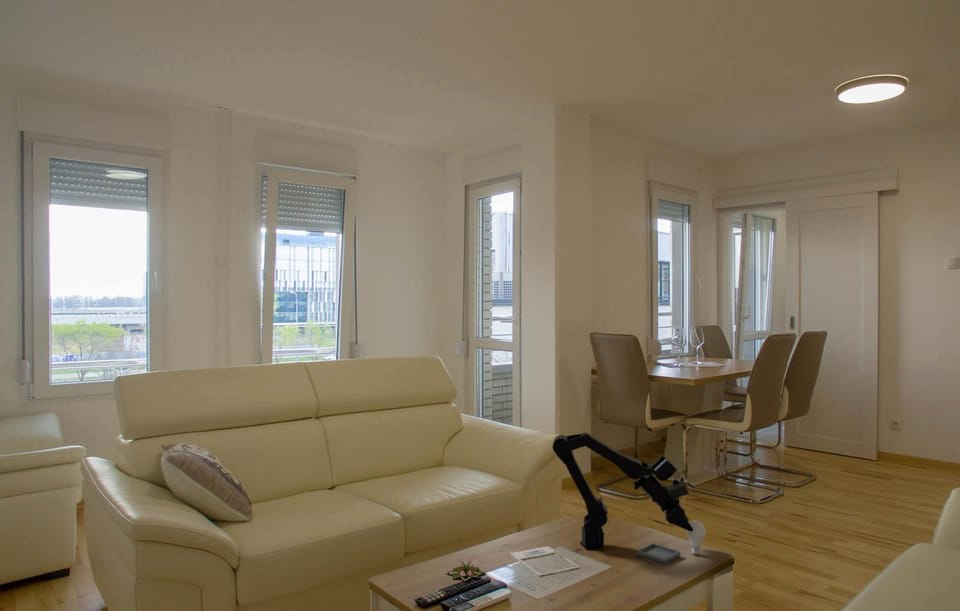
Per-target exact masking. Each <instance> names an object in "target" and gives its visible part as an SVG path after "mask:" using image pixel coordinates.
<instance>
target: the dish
mask: <svg viewBox="0 0 960 611" xmlns="http://www.w3.org/2000/svg"><path fill="white" fill-rule="evenodd" d="M636 557H637V558H638V557H639V558H641V559H643V558H644V560H646V559H647V561H649V560H650V562H652V561H653V563H655V562H656V563H655V564H658V563H659V565H661V564H662V566H664V567H665V566H667V565H669V564H671V563H672V562H674V561H676V560H677V559H679V558H681V551H680V550H678V549H677V550H676V549H674V548H670V547H667V546H664V545H661V544H657V543H655V542H651V543H650V544H648V545H645V546H643V547H641V548H639V549H637V550H636ZM666 564H667V565H666Z"/></svg>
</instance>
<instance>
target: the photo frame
mask: <svg viewBox="0 0 960 611" xmlns="http://www.w3.org/2000/svg"><path fill="white" fill-rule="evenodd" d="M554 550H555V549H553V548H552V547H550V546H543V547H542V546H541V547H537V548H531V549H525V550H520V551H515V552H514V551H513V552H509V555H510V556H511V557H512V556H513V557H512V558H514V559H515V560H516V561H518V562H519V563H520V562H521V563H520V564H522V565H523V564H524V565H526V566H527V567H528V568H530V569H531V570H533V571H534V572H535V573H536V574H538V575H542V574H541V573H539V572H538V571H536V569H534V568H533V567H532V566H530V565H528V563H526V562H524V560H523V559H525V560H529V559H528V558H530V559H533V558H532V557H536V556H540V555H544V554H547V553H549V552H553V551H554ZM536 558H537V557H536ZM565 559H566V560H567V561H569V562H570V563H572V564H573V565H575V567H574V566H573V565H572V566H570V567H566V568H561V569H556V570H557V571H562V570H568V569H574V568H579V569H580V566H579V565H577V564H576V563H574V562H573V561H572V560H570V559H568V558H567V557H565ZM567 561H566V562H567ZM570 563H569V564H570ZM524 565H523V566H524ZM527 567H526V568H527ZM528 568H527V569H528ZM531 570H530V571H531ZM556 570H553V571H554V572H555V571H556ZM574 570H575V569H574ZM547 572H548V573H550V572H551V571H547ZM535 573H534V574H535ZM542 573H543V574H544V573H545V574H547V573H546V572H542ZM536 574H535V575H536Z"/></svg>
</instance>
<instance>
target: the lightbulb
mask: <svg viewBox="0 0 960 611" xmlns="http://www.w3.org/2000/svg"><path fill="white" fill-rule="evenodd" d="M688 522H689V524H690V525H691V526H692V528H693V531H692V532H690V531H688V530H686V529H685V533H686V536H687V538H688V540H689V543H690V552H691V554H692V555H694V556H697V555H700V553H701V545H702V542H703V540H704V539H705V537H706V534H707V529H706V526H705V525H704V523H702V522H701V521H699V520H696V519H694V520H689V521H688Z"/></svg>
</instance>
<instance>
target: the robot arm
mask: <svg viewBox="0 0 960 611" xmlns="http://www.w3.org/2000/svg"><path fill="white" fill-rule="evenodd" d="M552 443H553V444H552V450H553V452H554V453H555V455H556V456H557V457H558V459H559V460H560V461H561V462H562V463H563V465H564V466H565V467H566V468H567V471H568V473H569V474H570V477H571V478H572V481H573V482H574V484H575V486H576V488H577V490H578V491H579V493H580V495H581V497H582V499H583V501H584V503H585V508H586V511H587V514H586V515H584V516H583V526H581V541H579V544H580V545H581V546H582V547H583V548H584V549H585V550H587V551H591V550H594V551H595V550H604V549H605V546H604V545H605V533H604V532H603V531H604V529H603V527H604V526H605V525H606V524H607V522H608V513H609V512H608V506H607V505H605V503H604V500H603V497H602V496H601V497H600V498H598V497H597V496H596V495H595V494H594V492H593V490H592V488H591V486H590V484H589V482H588V480H587V478H586V476H585V474H584V473H583V471H582V469H581V467H580V465H579V463H578V461H577V459H576V457H575V454H574V451H575V450H577V449H580V448H584V447H586V448H588V449H589V450H591V451H593V452H594V453H596V454H597V455H600V456H601V457H602V458H605V459H606V460H607V461H609V462H611V463H612V464H614V466H615V465H616V467H617V468H618V469H620V470H621V471H622V472H623V473H624V474H625V476H627V477H628V478H630V479H631V480H633V489H634V490H635V491H637V490H638V489H639V488H641V489H642V490H643V491H644V492H645V494H646V495H648V497H649V498H650V499H651V501H652V502H653V503H655V504H656V505H657V506H658V507H659V508H660V510H661V511H662V512H663V513H664V518H665V520H666V521H667V522H668V523H669V525H674V526H675V527H679V528H681V529H684V530H685V531H686V530H688V531H690V532H692V531H693V528H692V526H691V525H690V524H689V522H690V519H689V518H688V516H687V514H686V510H685V508H683V506H682V505H681V504H680V498H681V497H683V496H688V495H689V494H690V492H689V490H688V488H687V486H686V483H685V482H684V481H683V480H678V479H677V478H675V479H673V480H672V484H671V485H670V486H668V487H667V486H666V485H664V484H662V482H666V481H667V480H669V479H671V477H672V476H673V475H674V474H675V473H676V472H678V471H679V469H678V468H677V467H676V465H675V464H673V462H672V461H671V459H668V458H667V457H666V456H664V455H663V454H661V455H660V456H659V457H658V458H657V460H655V461H654V462H653V463H652V464H651V463H649V462H648V463H647V462H642V461H640V460H639V459H638V458H635V457H633V456H631V455H627V454H625V453H622V452H619V451H618V450H616V449H614V448H612V447H611V446H609V445H608V444H606V443H604V442H602V441H601V440H599V439H598V438H596V437H594V436H593V435H591V434H590V433H589V432H581V433H577V434H570V435H564V434H559V435H557V436H555V438H554V440H553V442H552Z"/></svg>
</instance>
